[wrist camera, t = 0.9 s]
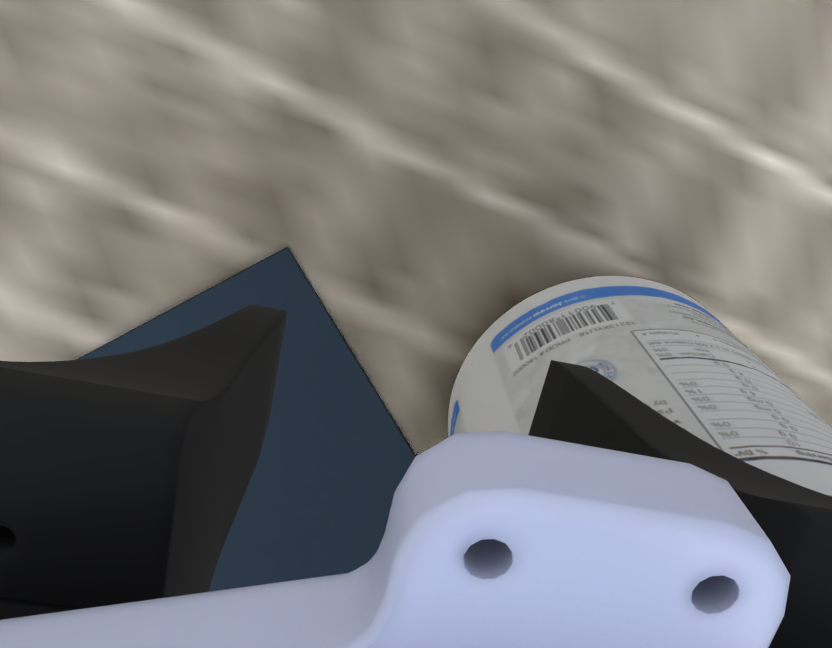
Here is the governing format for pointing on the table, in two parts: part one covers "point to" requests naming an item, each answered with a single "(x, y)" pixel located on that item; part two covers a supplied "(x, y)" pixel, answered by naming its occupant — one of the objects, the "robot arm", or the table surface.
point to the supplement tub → (643, 373)
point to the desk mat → (298, 436)
